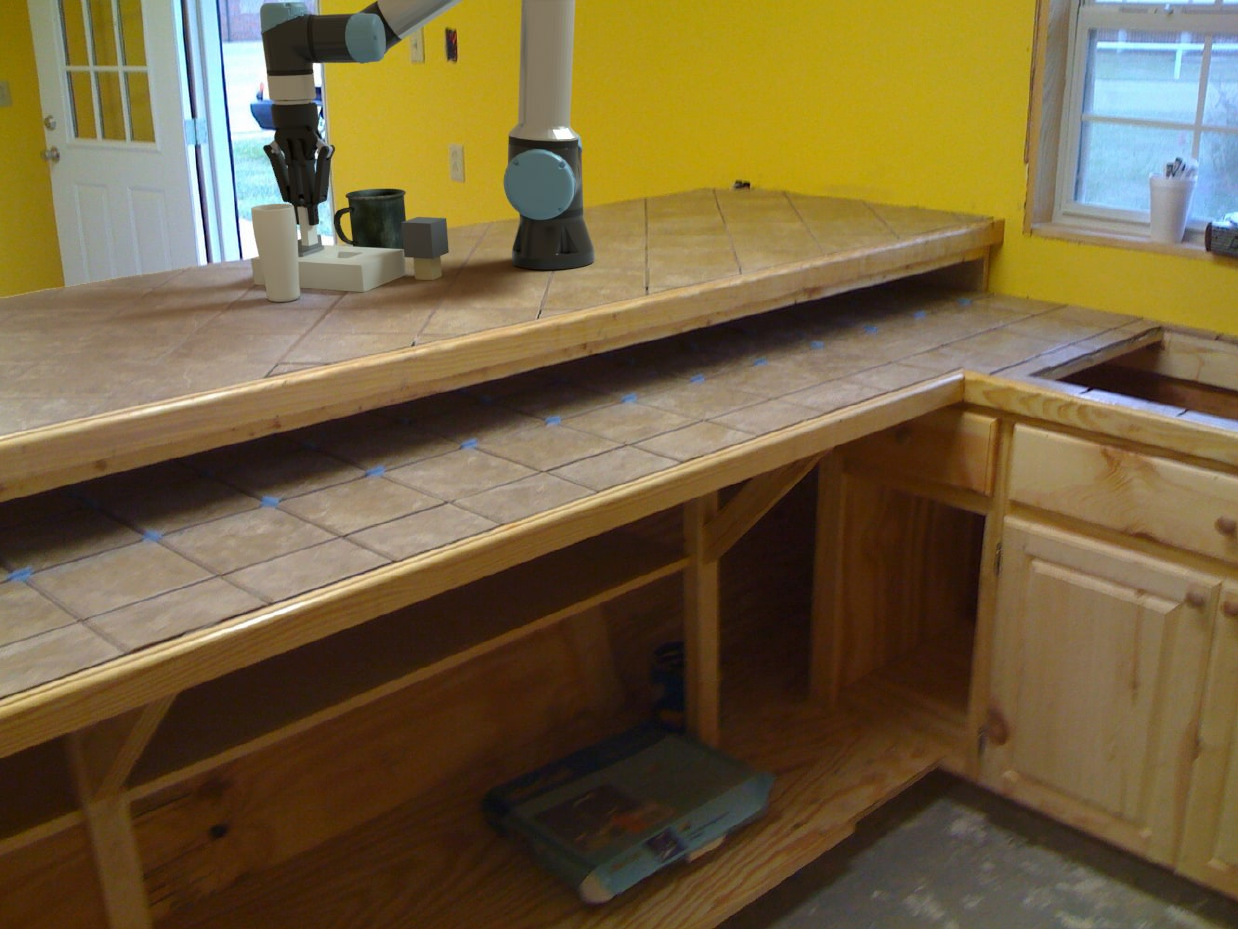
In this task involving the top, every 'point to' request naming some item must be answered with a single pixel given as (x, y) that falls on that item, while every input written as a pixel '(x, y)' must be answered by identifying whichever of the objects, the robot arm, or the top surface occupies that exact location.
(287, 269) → the drinking glass
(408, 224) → the plug
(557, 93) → the robot arm
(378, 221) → the mug
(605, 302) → the top surface
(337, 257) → the socket
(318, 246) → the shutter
